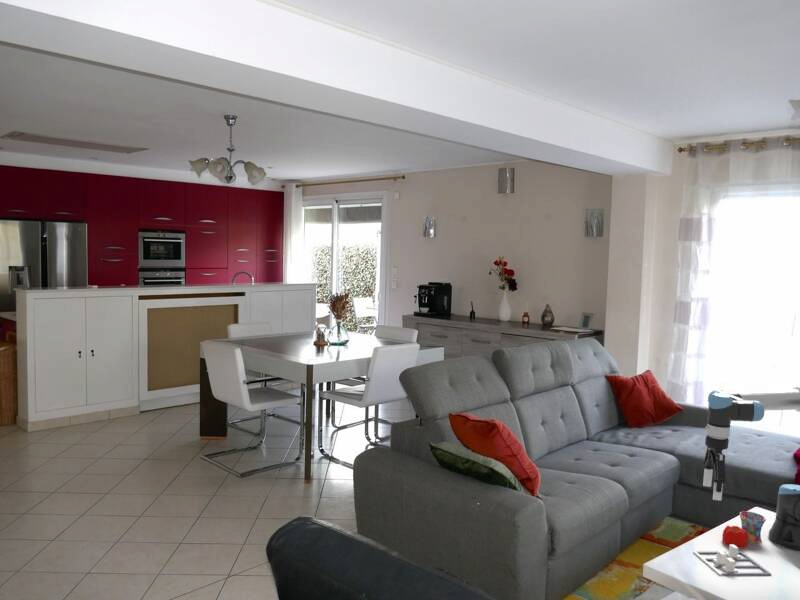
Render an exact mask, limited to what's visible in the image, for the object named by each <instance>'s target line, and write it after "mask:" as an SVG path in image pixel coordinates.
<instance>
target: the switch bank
mask: <svg viewBox="0 0 800 600" xmlns="http://www.w3.org/2000/svg"><path fill="white" fill-rule="evenodd" d="M723 552H724V553H725V552H726V551H723ZM692 553H693V555H695V556H696V557H697V558H698V559H700V560H701V562H703V563H704V564H706V565H707V567H709V568H710V569H711V570H712V571H714V572H715V573H716V575H718V576H720V577H721V576H723V577H725V576H726V577H727V576H730V577H732V576H733V577H734V576H737V577H738V576H740V577H741V576H743V577H744V576H745V577H746V576H747V577H748V576H752V577H753V576H757V577H758V576H759V577H760V576H767V577H768V576H770V577H771V576H772V573H771V572H770V571H768V570H767V569H766V568H764V567H763V566H762V565H761V564H759V563H758V562H757V561H755V560H754V559H753V558H751V557H750V556H749V555H747V554H746V553H744V552H743V551H738V555H740V556H742V557H744V558H742V557H741V558H732V559H733V560H734V561H735V562H750V563H751V565H750V564H749V565H748V564H747V565H746V564H745V565H743V564H742V565H739V564H737V565H736V564H735V569H759V570H761V571H762V572H738V573H726V572H721V571H720V570H719V569H721V566H725V565H716V564H715V565H714V564H711V563H710V562H713V559H717V557H716V558H713V557H711V558H710V557H709V558H707V557H706V558H705V557H703V556H702V555H717V551H700V550H699V551H698V550H697V551H696V550H695V551H693V552H692ZM752 564H753V565H752Z"/></svg>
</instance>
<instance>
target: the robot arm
mask: <svg viewBox="0 0 800 600" xmlns="http://www.w3.org/2000/svg"><path fill="white" fill-rule="evenodd" d="M707 402H708V410H707V422H706V426H705V427H704V428H705V429H706V431H705V432H706V435H705V441H704V442H705V443H704V444H705V446H706V452H705V454H704V459H703V463H702V464H703V467H704V470H703V482H702V487H707V488H710V487H712V483H713V492H712V500H713V501H720V502H721V501H722V498H723V487H724V484H726V463H725V462H726V454H723V450H725V451H726V450H727V449H728V448H729V444H730V443H729V441H730V439H729V438H730V434H731V422H750V423H752V422H760V421H762V419H763V418H764V416H765V411H785V410H786V411H790V410H791V411H793V410H794V411H796V412H797V413H800V386H797V387H796V386H795V387H793V388H792V389H785V390H784V389H783V390H782V389H781V390H779V389H778V390H755V391H753V390H751V391H749V390H748V391H746V390H745V391H725V390H720V389H714V390H712V391H711V392H710V393H709V394H708V397H707ZM713 471H714V479H713ZM778 488H779V489H778V493H777V502H776V513H775V519H774V522H773V523H772V526H771V528H770V529H769V531H768V536H767V537H768V539H769V540H770V541H771V542H772V543H774V544H776V545H778V546H779V547H783V548H786V549H789V550H793V551H799V552H800V485H799V484H792V483H791V484H789V483H788V484H787V483H786V484H781V485H780V486H779V487H778Z"/></svg>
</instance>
